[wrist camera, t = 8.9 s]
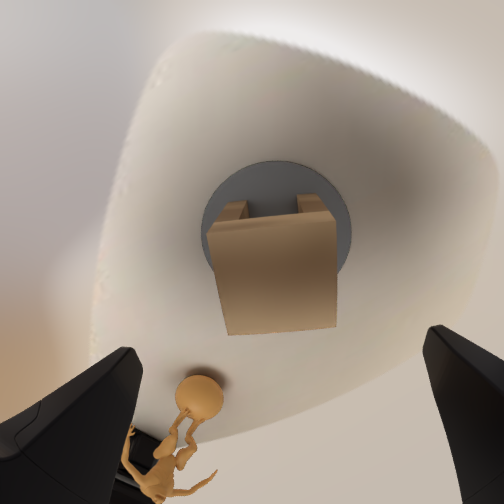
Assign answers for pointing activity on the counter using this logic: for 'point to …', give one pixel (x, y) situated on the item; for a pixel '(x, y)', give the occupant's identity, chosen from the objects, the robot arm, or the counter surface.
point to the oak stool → (276, 268)
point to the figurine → (192, 406)
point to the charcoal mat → (278, 198)
